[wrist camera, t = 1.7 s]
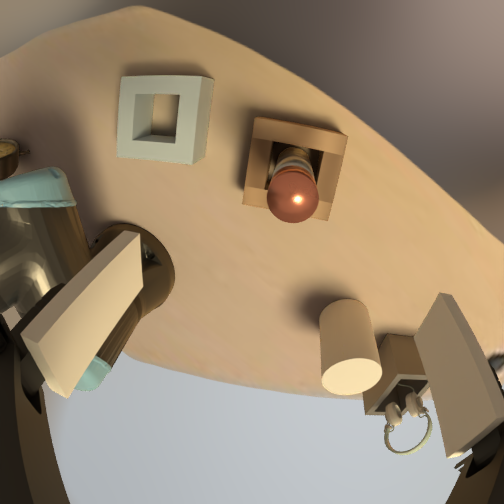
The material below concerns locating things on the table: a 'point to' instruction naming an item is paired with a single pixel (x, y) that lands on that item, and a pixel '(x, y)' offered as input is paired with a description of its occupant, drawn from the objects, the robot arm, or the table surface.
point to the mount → (299, 135)
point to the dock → (141, 109)
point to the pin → (293, 187)
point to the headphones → (395, 418)
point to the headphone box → (396, 375)
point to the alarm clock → (9, 157)
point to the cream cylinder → (348, 348)
